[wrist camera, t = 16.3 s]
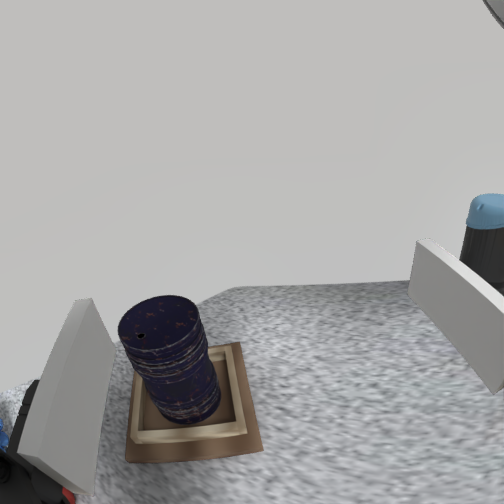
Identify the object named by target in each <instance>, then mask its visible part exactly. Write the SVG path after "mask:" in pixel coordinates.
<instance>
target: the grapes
mask: <svg viewBox="0 0 504 504" xmlns="http://www.w3.org/2000/svg"><path fill="white" fill-rule="evenodd" d="M3 425H4V424H3V421H2V419H1V418H0V448H1V449H2V450H3V451H4V452H5V453H6V451H5V449H4V448H3V447H2V446H6V445H8V443H9V438H8V435H7V434H6V433H5V432H3V431H1V430H2V429H3Z"/></svg>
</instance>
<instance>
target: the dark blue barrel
mask: <svg viewBox="0 0 504 504" xmlns="http://www.w3.org/2000/svg"><path fill="white" fill-rule="evenodd" d="M118 335H119V338H120V340H121V342H122V344H123V346H124V348H125V352H126V354H127V356H128V358H129V360H130V362H131V364H132V366H133V368H134V369H135V371H136V372H137V373H138V374H139V375H140V376H141V377H142V379H143V381H144V384H145V388H146V391H147V393H148V395H149V396H150V398H151V400H152V402H153V403H154V405H155V406H156V407H157V408H158V410H159V412H160V413H161V415H162V416H163V417H164V418H165V419H167V420H168V421H170V422H173V423H175V424H180V425H192V424H196V423H199V422H202V421H204V420H206V419H207V418H209V417H210V416H211V415H213V414H214V413H215V411H216V410H217V409H218V407H219V405H220V402H221V390H220V386H219V381H218V377H217V374H216V371H215V368H214V365H213V363H212V361H211V360H210V359H209V355H208V342H207V338H206V335H205V331H204V327H203V325H202V323H201V319H200V316H199V312H198V308H197V307H196V305H195V304H194V303H193V302H192V301H191V300H189V299H187V298H184V297H181V296H175V295H165V296H157V297H153V298H150V299H147V300H145V301H142V302H140V303H138V304H137V305H135V306H133V307H132V308H131V309H130V310H128V311H127V312H126V313H125V314H124V316H123V317H122V319H121V320H120V322H119V325H118Z"/></svg>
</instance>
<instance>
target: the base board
mask: <svg viewBox="0 0 504 504" xmlns="http://www.w3.org/2000/svg"><path fill="white" fill-rule="evenodd" d="M208 355H209V359H210V360H211V361H212V363H213V365H214V368H215V371H216V374H217V377H218V381H219V386H220V390H221V402H220V405H219V407H218V409H217V410H216V411H215V413H214V414H213V415H211V416H210V417H209V418H207V419H206V420H204V421H202V422H199V423H196V424H192V425H180V424H175V423H173V422H170V421H168V420H167V419H165V418H164V417H163V416H162V415H161V413H160V412H159V410H158V408H157V407H156V406H155V405H154V403H153V402H152V400H151V398H150V396H149V395H148V393H147V391H146V388H145V384H144V381H143V379H142V377H141V376H140V375H139V374H138V373H137V372H136V371H134V378H133V385H132V393H131V401H130V409H129V419H128V429H127V440H126V454H125V460H126V461H127V462H129V463H163V462H182V461H195V460H206V459H215V458H223V457H230V456H237V455H243V454H249V453H255V452H261V451H264V450H263V445H262V441H261V437H260V432H259V428H258V424H257V419H256V415H255V411H254V406H253V402H252V397H251V393H250V388H249V383H248V379H247V374H246V369H245V365H244V360H243V355H242V350H241V346H240V342H236V343H230V344H224V345H218V346H212V347H208Z"/></svg>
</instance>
